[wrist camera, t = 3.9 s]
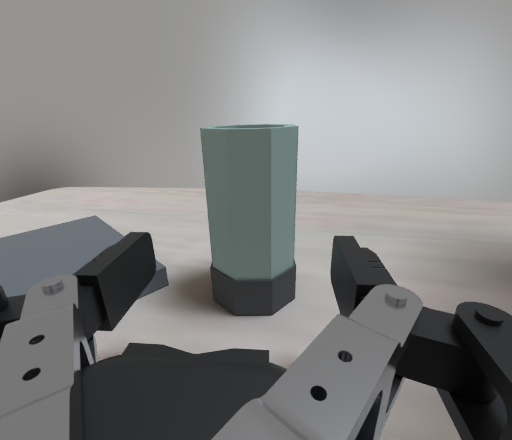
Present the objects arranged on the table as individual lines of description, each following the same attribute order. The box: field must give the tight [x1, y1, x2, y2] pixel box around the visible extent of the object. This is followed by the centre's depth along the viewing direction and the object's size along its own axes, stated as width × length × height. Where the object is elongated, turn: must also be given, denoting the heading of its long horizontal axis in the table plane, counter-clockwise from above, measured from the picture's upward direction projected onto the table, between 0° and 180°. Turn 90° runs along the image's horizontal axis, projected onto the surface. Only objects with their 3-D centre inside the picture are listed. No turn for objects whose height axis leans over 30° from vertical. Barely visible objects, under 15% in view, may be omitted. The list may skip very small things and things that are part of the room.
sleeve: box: [200, 124, 298, 316], centre depth 18 cm, size 6×6×11 cm
